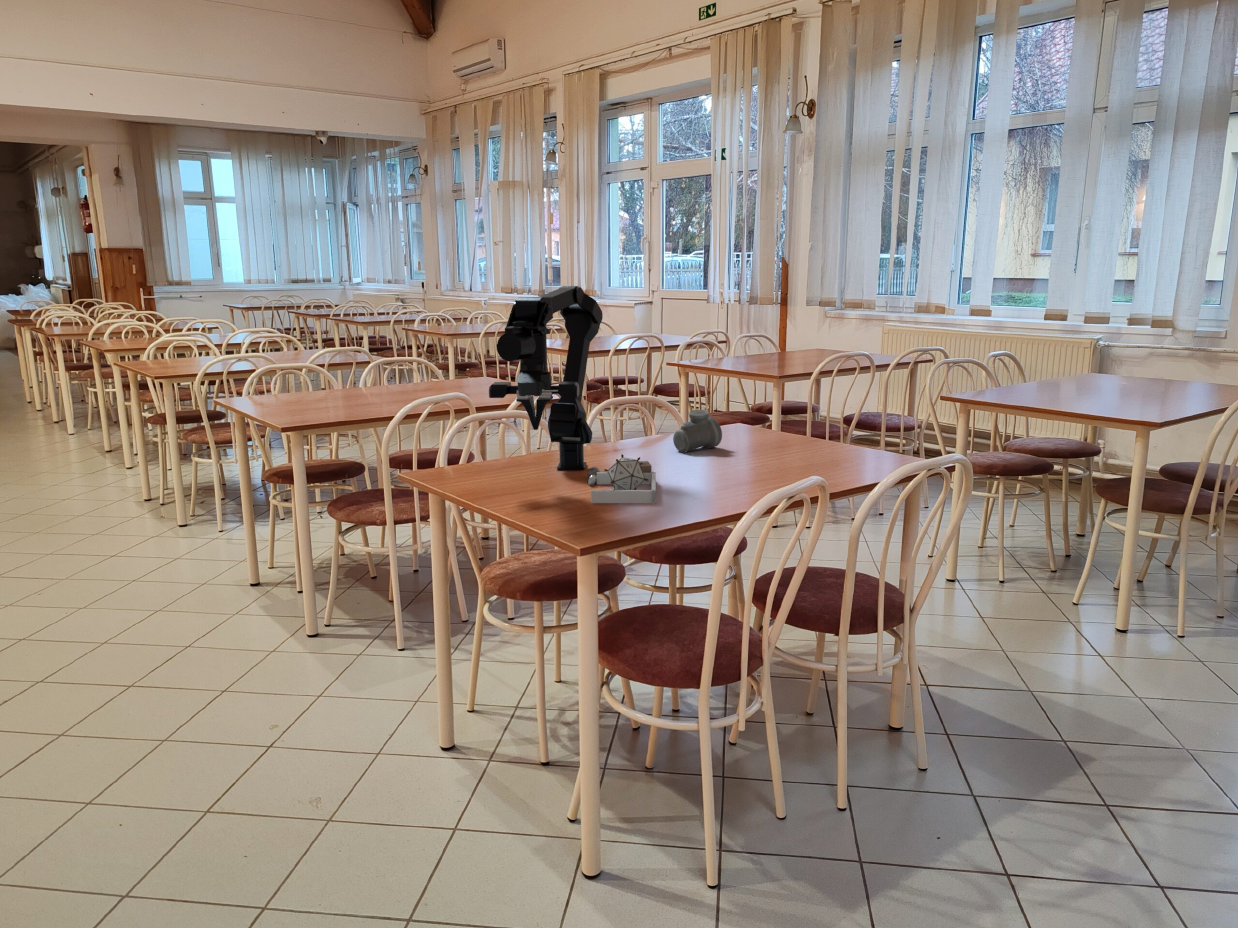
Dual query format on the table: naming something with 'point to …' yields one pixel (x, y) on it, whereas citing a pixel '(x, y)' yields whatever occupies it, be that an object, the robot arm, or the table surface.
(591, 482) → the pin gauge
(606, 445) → the table surface
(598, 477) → the tray
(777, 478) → the table surface
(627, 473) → the game die
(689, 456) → the table surface
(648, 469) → the drilled block
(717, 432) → the pipe fitting
